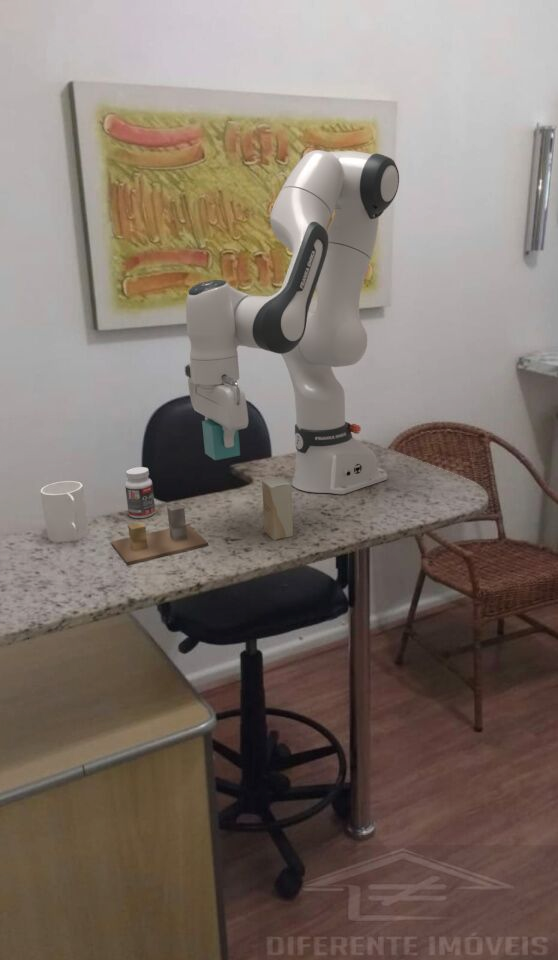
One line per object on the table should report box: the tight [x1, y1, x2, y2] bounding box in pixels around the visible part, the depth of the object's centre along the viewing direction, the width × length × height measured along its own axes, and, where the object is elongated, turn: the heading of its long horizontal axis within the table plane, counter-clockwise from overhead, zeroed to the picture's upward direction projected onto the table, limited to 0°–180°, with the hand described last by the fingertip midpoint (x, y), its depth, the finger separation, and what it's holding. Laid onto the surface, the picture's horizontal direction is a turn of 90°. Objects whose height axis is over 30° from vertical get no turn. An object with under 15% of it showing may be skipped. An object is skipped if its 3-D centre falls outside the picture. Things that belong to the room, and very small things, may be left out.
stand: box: [111, 503, 209, 566], centre depth 144 cm, size 16×11×7 cm
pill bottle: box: [124, 466, 156, 519], centre depth 160 cm, size 6×6×10 cm
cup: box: [40, 480, 90, 543], centre depth 150 cm, size 8×12×10 cm
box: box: [261, 476, 294, 541], centre depth 145 cm, size 5×4×11 cm
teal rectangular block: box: [201, 419, 241, 461], centre depth 144 cm, size 5×5×7 cm
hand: (221, 442), depth 144 cm, fingers closed on teal rectangular block, 5 cm apart
